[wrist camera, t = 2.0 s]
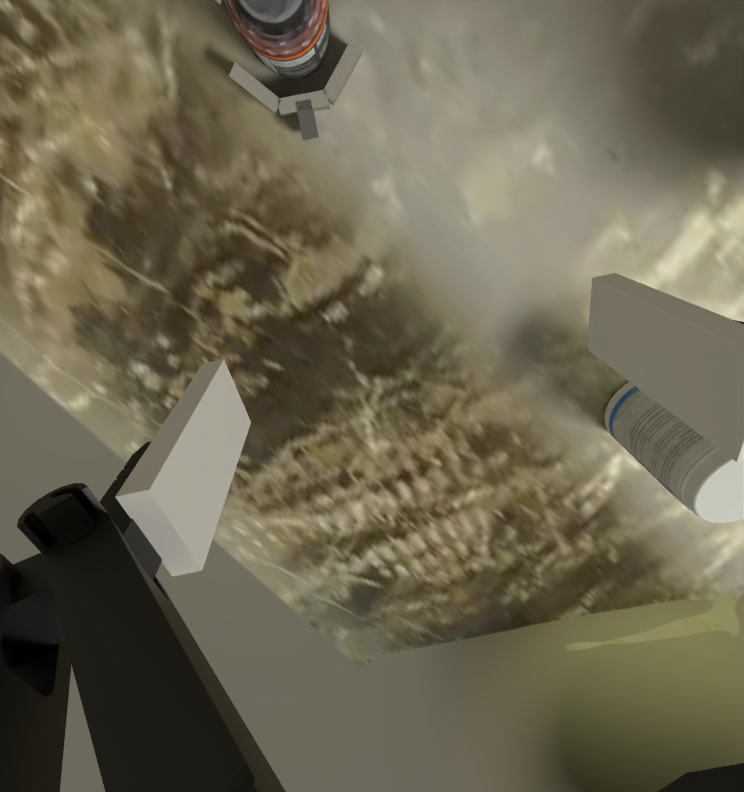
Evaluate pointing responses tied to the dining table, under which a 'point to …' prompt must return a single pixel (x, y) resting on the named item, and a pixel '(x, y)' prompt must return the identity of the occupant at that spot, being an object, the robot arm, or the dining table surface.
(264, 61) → the supplement bottle
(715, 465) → the supplement tub
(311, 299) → the dining table surface
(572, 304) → the dining table surface
